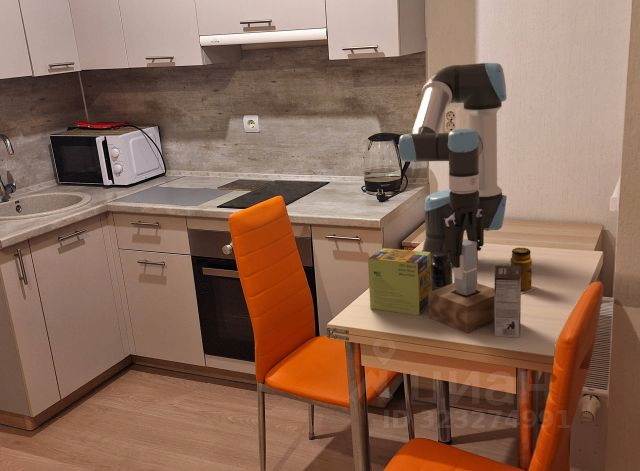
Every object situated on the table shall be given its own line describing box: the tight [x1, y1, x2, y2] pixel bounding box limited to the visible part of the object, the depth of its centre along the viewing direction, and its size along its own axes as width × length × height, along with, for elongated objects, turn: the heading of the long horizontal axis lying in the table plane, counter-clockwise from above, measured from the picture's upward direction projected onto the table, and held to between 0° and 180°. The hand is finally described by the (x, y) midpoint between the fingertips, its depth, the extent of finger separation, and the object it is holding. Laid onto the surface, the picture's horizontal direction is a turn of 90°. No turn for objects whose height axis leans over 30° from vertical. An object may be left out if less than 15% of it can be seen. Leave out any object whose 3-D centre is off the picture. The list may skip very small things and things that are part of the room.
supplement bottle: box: [431, 251, 454, 291], centre depth 200 cm, size 7×7×12 cm
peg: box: [453, 238, 478, 296], centre depth 178 cm, size 4×4×14 cm
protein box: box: [367, 247, 432, 316], centre depth 191 cm, size 10×15×16 cm
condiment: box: [509, 247, 539, 295], centre depth 198 cm, size 7×8×12 cm
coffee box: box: [493, 264, 522, 338], centre depth 171 cm, size 9×6×16 cm
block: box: [428, 282, 495, 334], centre depth 181 cm, size 14×14×8 cm
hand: (465, 275), depth 178 cm, fingers closed on peg, 4 cm apart
